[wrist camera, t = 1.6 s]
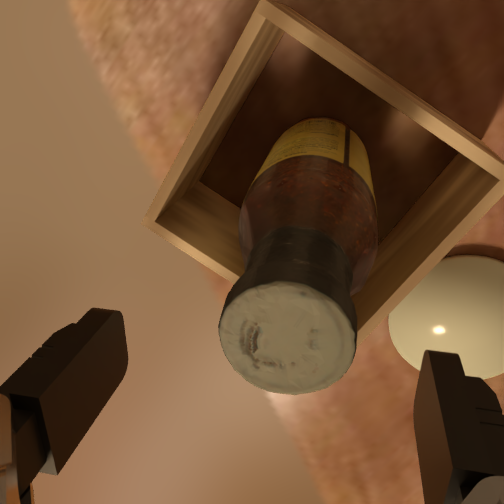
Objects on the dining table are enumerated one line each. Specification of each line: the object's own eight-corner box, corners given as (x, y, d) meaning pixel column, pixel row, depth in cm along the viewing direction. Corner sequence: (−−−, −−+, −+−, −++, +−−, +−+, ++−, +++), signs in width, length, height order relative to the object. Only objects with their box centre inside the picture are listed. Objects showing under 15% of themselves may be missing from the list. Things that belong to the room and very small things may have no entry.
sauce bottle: (255, 172, 32) (125, 341, 15) (310, 92, 29) (229, 183, 12) (333, 227, 33) (298, 455, 15) (394, 154, 30) (438, 330, 12)
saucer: (559, 262, 30) (562, 266, 30) (521, 385, 35) (523, 390, 34) (398, 248, 32) (398, 251, 32) (380, 366, 37) (380, 371, 36)
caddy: (481, 140, 28) (520, 176, 21) (350, 290, 34) (347, 357, 27) (287, 5, 28) (261, -3, 21) (187, 183, 34) (141, 223, 27)
